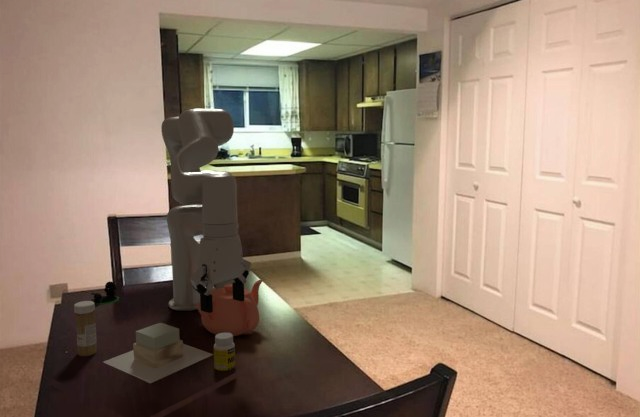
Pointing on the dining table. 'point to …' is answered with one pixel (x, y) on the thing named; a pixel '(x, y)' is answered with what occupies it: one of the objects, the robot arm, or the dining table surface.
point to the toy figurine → (110, 294)
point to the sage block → (157, 336)
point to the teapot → (232, 311)
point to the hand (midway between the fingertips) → (223, 305)
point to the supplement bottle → (224, 352)
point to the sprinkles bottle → (85, 328)
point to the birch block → (158, 354)
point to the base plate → (152, 374)
